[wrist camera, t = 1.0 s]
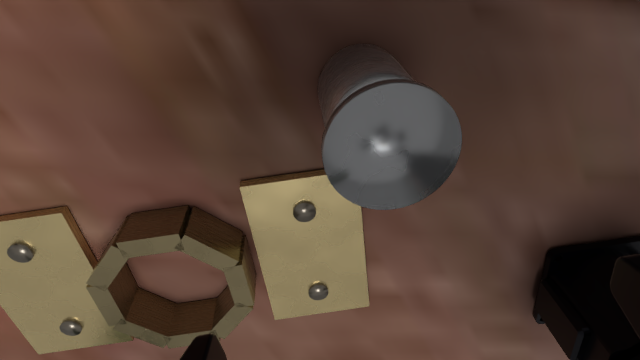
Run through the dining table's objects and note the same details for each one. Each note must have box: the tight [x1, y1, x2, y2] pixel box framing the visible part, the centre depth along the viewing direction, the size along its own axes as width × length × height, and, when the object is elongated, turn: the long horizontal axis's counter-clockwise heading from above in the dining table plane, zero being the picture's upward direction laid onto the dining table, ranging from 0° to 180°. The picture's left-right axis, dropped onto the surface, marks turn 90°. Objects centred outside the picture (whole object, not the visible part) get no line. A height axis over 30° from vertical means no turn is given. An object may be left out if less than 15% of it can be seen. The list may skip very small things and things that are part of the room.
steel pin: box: [317, 44, 462, 210], centre depth 16 cm, size 5×5×6 cm
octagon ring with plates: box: [0, 169, 369, 354], centre depth 23 cm, size 21×10×2 cm, turn 97°
